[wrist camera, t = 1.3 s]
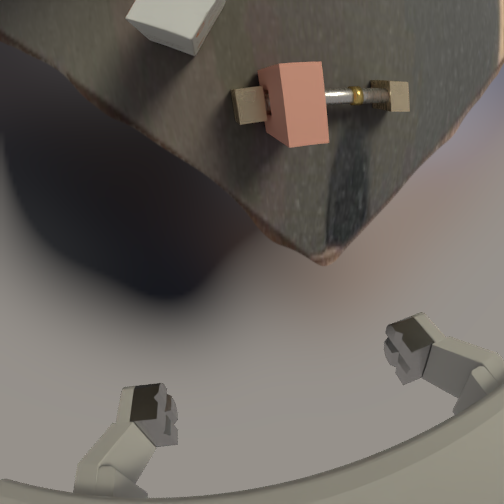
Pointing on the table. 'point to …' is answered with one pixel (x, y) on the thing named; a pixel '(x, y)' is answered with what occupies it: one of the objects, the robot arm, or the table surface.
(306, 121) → the collar
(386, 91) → the pipe rig
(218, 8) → the small box
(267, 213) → the table surface
